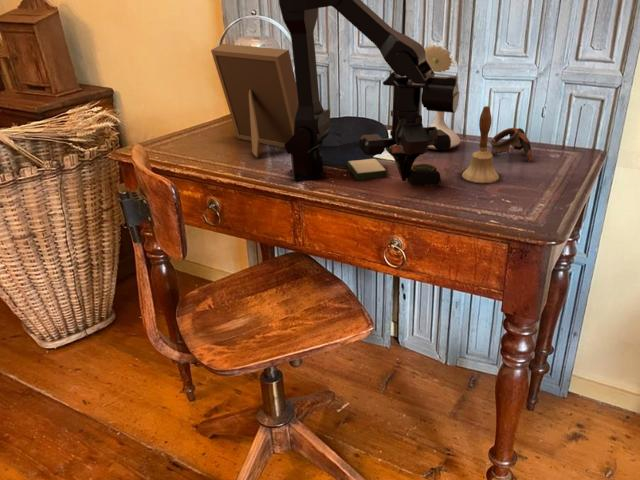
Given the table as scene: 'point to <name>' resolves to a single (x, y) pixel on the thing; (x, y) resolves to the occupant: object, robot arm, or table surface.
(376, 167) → the tan flat block
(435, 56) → the flower in vase
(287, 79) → the photo frame
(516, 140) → the brown leather strap
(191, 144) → the table surface
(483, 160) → the hand bell
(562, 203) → the table surface
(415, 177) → the tape measure
